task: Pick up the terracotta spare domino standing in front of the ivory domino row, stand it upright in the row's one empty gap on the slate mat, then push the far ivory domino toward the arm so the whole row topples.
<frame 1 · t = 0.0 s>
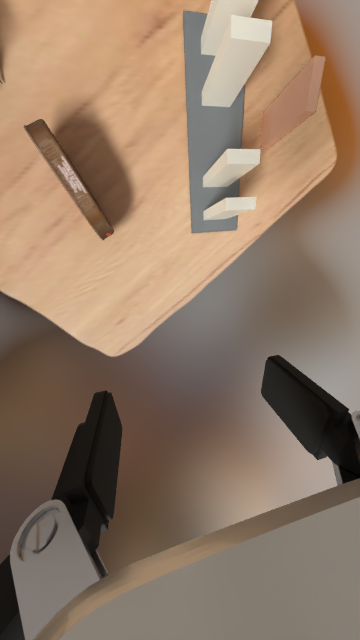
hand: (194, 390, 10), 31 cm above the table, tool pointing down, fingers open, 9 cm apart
tile 1: (215, 215, 35), resting on slate mat
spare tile: (265, 131, 31), on the table
tin: (85, 196, 30), on the table
tile 2: (215, 181, 33), resting on slate mat
tile 4: (216, 99, 28), resting on slate mat
tile 5: (216, 47, 26), resting on slate mat
slate mat: (214, 144, 31), on the table
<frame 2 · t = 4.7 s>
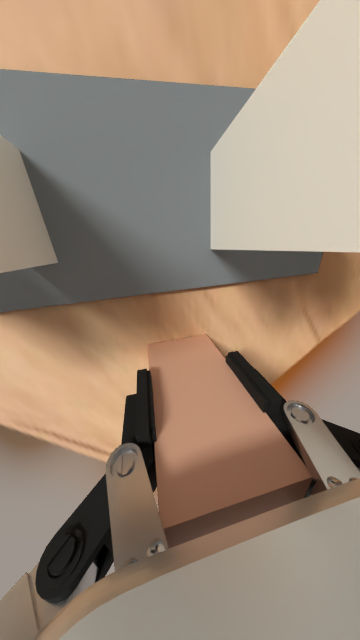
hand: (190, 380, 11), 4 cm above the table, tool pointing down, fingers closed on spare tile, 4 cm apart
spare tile: (178, 347, 14), on the table, touching gripper
tile 2: (23, 213, 9), resting on slate mat
tile 4: (222, 204, 11), resting on slate mat
slate mat: (132, 210, 10), on the table
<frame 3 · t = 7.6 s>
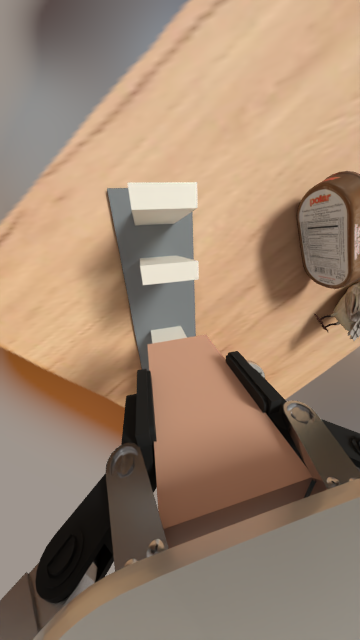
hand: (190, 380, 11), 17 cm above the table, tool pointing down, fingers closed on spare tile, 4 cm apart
tile 1: (154, 217, 21), resting on slate mat
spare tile: (178, 347, 14), point 13 cm above the table, touching gripper
tin: (303, 240, 28), on the table
decorative bird: (342, 294, 34), on the table
tile 2: (159, 262, 24), resting on slate mat
tile 4: (166, 332, 28), resting on slate mat
slate mat: (162, 299, 26), on the table
when the fingers open (5 cm above the table, at t = 10.6 s): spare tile stays where it is, resting on slate mat.
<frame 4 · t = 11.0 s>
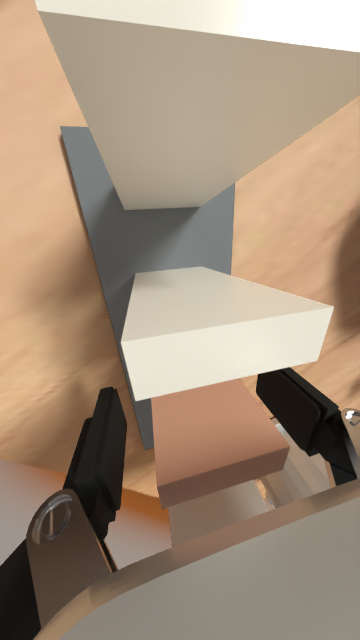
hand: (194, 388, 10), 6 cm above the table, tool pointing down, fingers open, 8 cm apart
tile 1: (162, 193, 11), resting on slate mat
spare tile: (176, 341, 15), resting on slate mat
tile 2: (170, 280, 13), resting on slate mat
tile 4: (180, 387, 17), resting on slate mat
slate mat: (175, 339, 16), on the table
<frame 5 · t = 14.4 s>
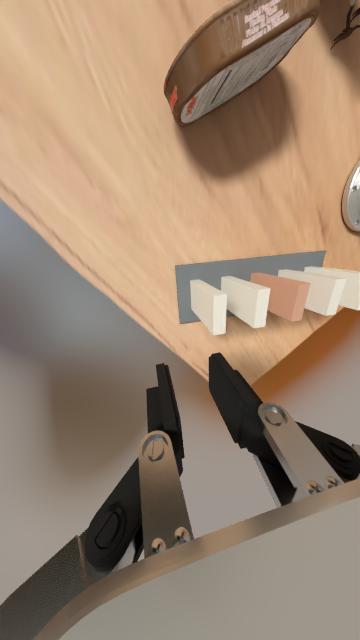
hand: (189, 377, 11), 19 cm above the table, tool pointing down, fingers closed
tile 1: (195, 294, 29), resting on slate mat
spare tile: (253, 287, 31), resting on slate mat
tin: (218, 96, 20), on the table
tile 2: (225, 290, 30), resting on slate mat
tile 4: (280, 283, 32), resting on slate mat
tile 5: (305, 280, 32), resting on slate mat
slate mat: (252, 286, 31), on the table
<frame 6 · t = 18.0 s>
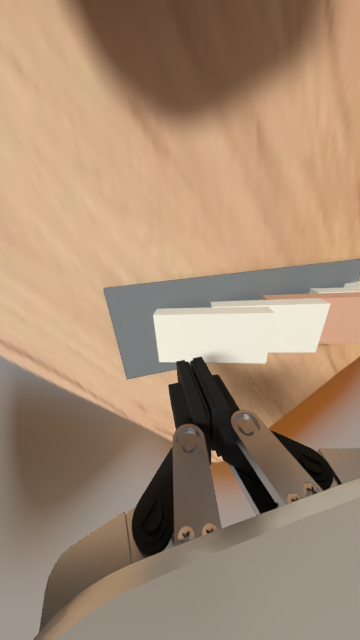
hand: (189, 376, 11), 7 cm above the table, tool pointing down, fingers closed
tile 1: (158, 335, 16), point 1 cm above the table, tilted 73°, touching slate mat, tile 2
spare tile: (261, 319, 18), point 1 cm above the table, tilted 73°, touching slate mat, tile 2, tile 4
tile 2: (211, 327, 17), point 1 cm above the table, tilted 73°, touching slate mat, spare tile, tile 1
tile 4: (308, 312, 19), point 1 cm above the table, tilted 71°, touching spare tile, tile 5
slate mat: (245, 317, 19), on the table
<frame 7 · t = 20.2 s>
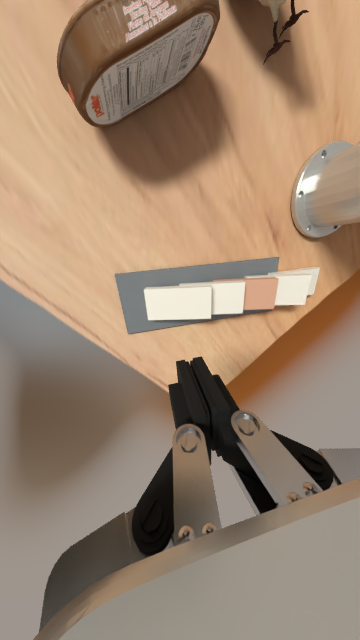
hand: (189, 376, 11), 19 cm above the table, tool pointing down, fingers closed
tile 1: (147, 303, 27), point 1 cm above the table, tilted 73°, touching slate mat, tile 2
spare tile: (212, 295, 29), point 1 cm above the table, tilted 73°, touching slate mat, tile 2, tile 4
tin: (141, 96, 19), on the table
tile 2: (180, 299, 28), point 1 cm above the table, tilted 73°, touching slate mat, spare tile, tile 1
tile 4: (244, 291, 30), point 1 cm above the table, tilted 70°, touching slate mat, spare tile, tile 5
tile 5: (269, 287, 31), point 1 cm above the table, tilted 93°, touching slate mat, tile 4
slate mat: (204, 294, 30), on the table
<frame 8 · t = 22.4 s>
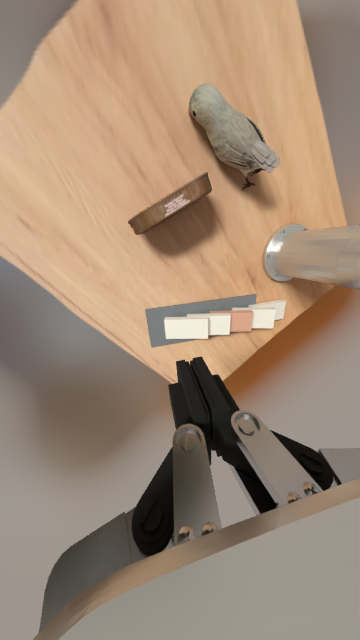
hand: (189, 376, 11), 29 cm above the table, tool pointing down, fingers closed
tile 1: (165, 328, 40), point 1 cm above the table, tilted 73°, touching slate mat, tile 2
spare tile: (209, 321, 42), point 1 cm above the table, tilted 73°, touching slate mat, tile 2, tile 4
tin: (166, 211, 33), on the table
decorative bird: (222, 150, 31), on the table
tile 2: (187, 324, 41), point 1 cm above the table, tilted 73°, touching slate mat, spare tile, tile 1
tile 4: (231, 317, 43), point 1 cm above the table, tilted 70°, touching slate mat, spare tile, tile 5
tile 5: (249, 315, 44), point 1 cm above the table, tilted 93°, touching slate mat, tile 4
slate mat: (203, 320, 43), on the table
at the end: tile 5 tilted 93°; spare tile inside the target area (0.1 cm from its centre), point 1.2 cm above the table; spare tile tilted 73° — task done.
